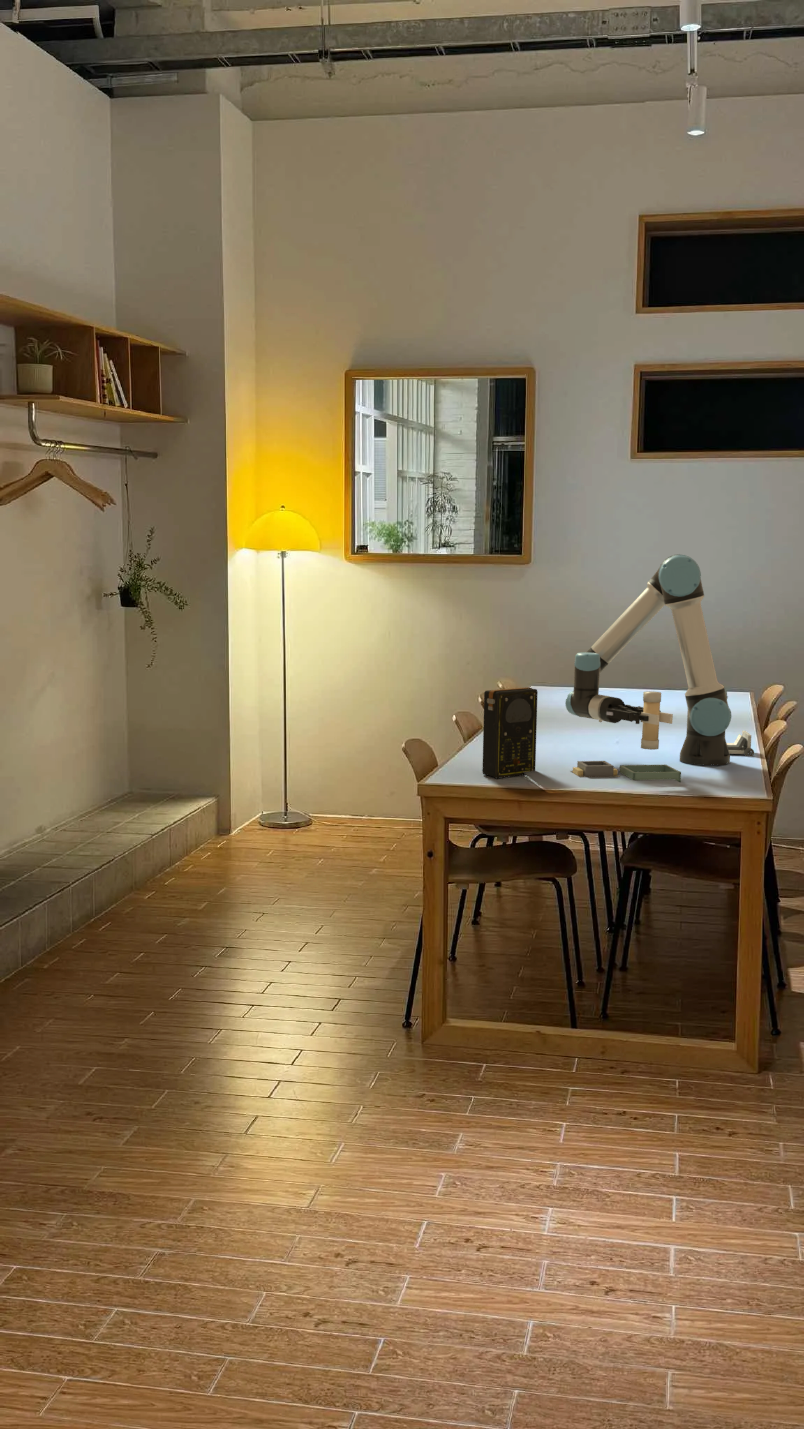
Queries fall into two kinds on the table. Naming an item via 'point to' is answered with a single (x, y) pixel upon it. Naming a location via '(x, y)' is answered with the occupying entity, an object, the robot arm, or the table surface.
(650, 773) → the tray
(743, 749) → the phone holder
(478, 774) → the table surface
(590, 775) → the fuse holder
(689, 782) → the table surface
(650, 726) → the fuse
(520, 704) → the voltmeter
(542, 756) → the table surface
